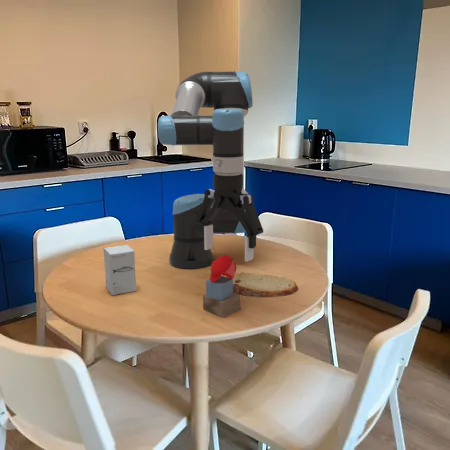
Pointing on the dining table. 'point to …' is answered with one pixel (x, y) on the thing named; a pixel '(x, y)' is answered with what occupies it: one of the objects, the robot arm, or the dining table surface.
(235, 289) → the slice of bread
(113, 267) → the supplement box
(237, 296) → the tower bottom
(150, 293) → the dining table surface
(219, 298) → the tower top
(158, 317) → the dining table surface
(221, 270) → the cap
